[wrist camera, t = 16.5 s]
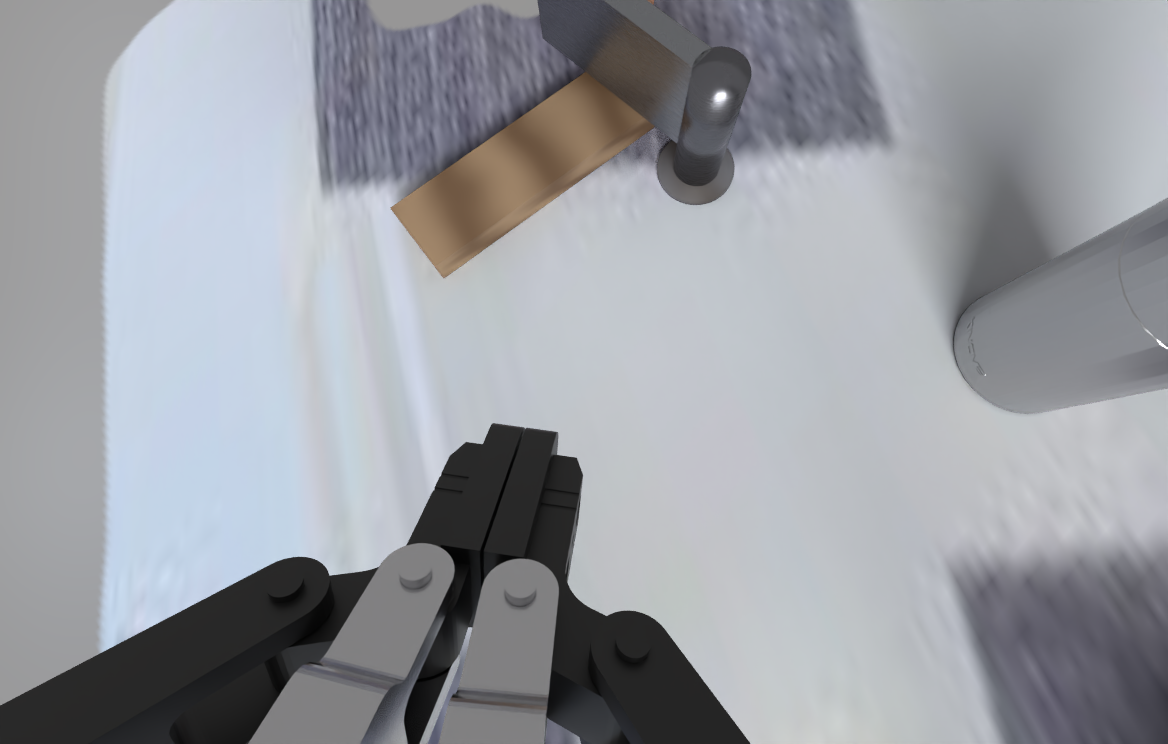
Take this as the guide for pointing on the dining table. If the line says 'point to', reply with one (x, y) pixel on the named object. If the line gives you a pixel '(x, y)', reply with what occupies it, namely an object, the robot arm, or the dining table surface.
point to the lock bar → (656, 73)
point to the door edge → (534, 172)
